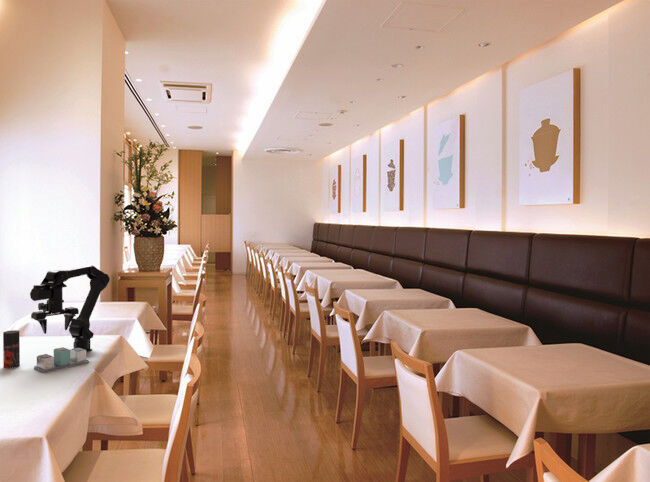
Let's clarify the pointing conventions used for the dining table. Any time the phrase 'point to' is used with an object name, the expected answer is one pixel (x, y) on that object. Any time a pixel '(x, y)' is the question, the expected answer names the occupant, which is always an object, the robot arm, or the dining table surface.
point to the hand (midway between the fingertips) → (55, 331)
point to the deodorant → (11, 349)
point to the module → (62, 356)
